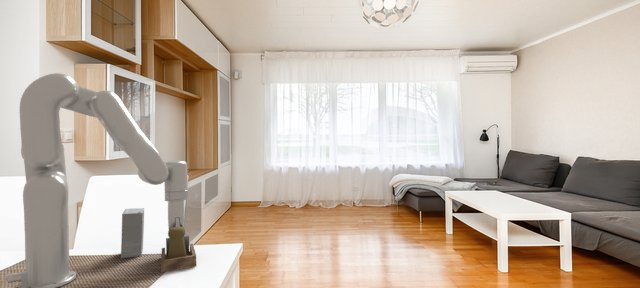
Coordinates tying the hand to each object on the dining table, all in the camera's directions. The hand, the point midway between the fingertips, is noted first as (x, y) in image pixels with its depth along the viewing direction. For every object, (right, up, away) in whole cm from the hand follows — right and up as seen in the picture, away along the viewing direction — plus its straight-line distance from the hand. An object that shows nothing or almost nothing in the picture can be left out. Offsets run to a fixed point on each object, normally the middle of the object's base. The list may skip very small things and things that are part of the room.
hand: (177, 247), depth 113 cm
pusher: (+2, -3, -3) cm, 4 cm away
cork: (+4, -2, -9) cm, 10 cm away
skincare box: (-16, -3, +1) cm, 17 cm away
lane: (+4, -3, -7) cm, 9 cm away
